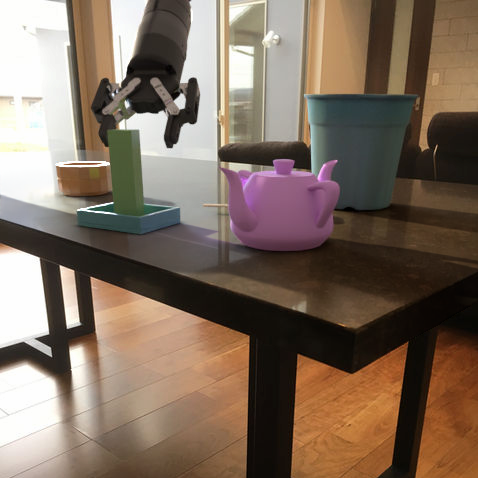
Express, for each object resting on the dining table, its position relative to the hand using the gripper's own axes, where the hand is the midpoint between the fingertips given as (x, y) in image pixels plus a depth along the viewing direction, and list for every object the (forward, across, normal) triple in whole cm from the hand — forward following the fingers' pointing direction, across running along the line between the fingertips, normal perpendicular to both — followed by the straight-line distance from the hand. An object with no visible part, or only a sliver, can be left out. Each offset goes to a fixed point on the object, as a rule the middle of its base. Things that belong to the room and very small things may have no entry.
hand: (136, 143), depth 68 cm
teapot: (+14, +20, 0) cm, 25 cm away
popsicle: (+2, +15, +12) cm, 19 cm away
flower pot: (-5, +29, +19) cm, 35 cm away
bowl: (-8, -18, +21) cm, 28 cm away
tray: (+10, 0, +4) cm, 11 cm away
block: (+10, 0, +3) cm, 10 cm away
